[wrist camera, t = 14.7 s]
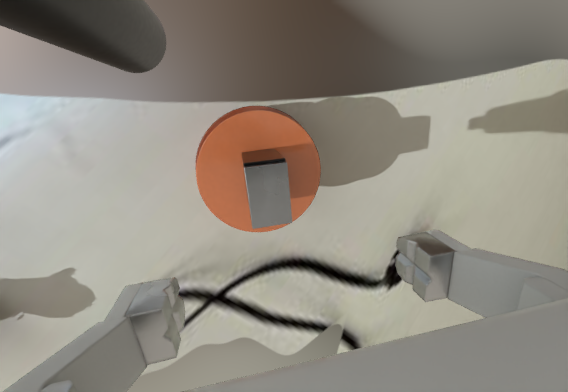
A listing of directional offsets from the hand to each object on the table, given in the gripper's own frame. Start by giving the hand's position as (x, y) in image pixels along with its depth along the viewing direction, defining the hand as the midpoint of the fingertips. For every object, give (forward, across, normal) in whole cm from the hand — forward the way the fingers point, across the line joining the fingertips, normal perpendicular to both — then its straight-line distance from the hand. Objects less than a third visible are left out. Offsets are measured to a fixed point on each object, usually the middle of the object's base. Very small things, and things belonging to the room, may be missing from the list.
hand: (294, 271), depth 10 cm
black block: (+15, 0, 0) cm, 15 cm away
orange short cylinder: (+27, 0, 0) cm, 27 cm away
